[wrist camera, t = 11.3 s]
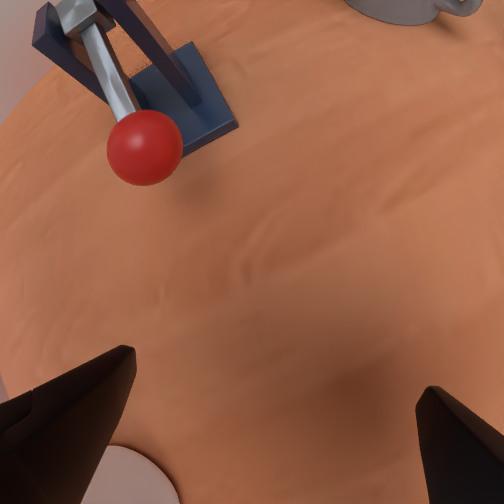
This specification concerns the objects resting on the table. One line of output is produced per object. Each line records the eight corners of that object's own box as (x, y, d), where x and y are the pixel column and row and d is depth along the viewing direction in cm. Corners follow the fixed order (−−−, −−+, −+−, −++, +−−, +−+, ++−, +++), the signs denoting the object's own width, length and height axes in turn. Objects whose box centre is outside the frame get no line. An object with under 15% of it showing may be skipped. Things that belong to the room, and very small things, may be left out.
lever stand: (239, 126, 22) (147, -15, 9) (147, 179, 24) (8, 96, 10) (196, 48, 24) (121, -63, 11) (121, 94, 26) (23, 10, 12)
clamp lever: (203, 163, 16) (183, 158, 12) (145, 197, 16) (112, 202, 13) (117, -4, 14) (90, -30, 10) (71, 29, 14) (39, 10, 11)
